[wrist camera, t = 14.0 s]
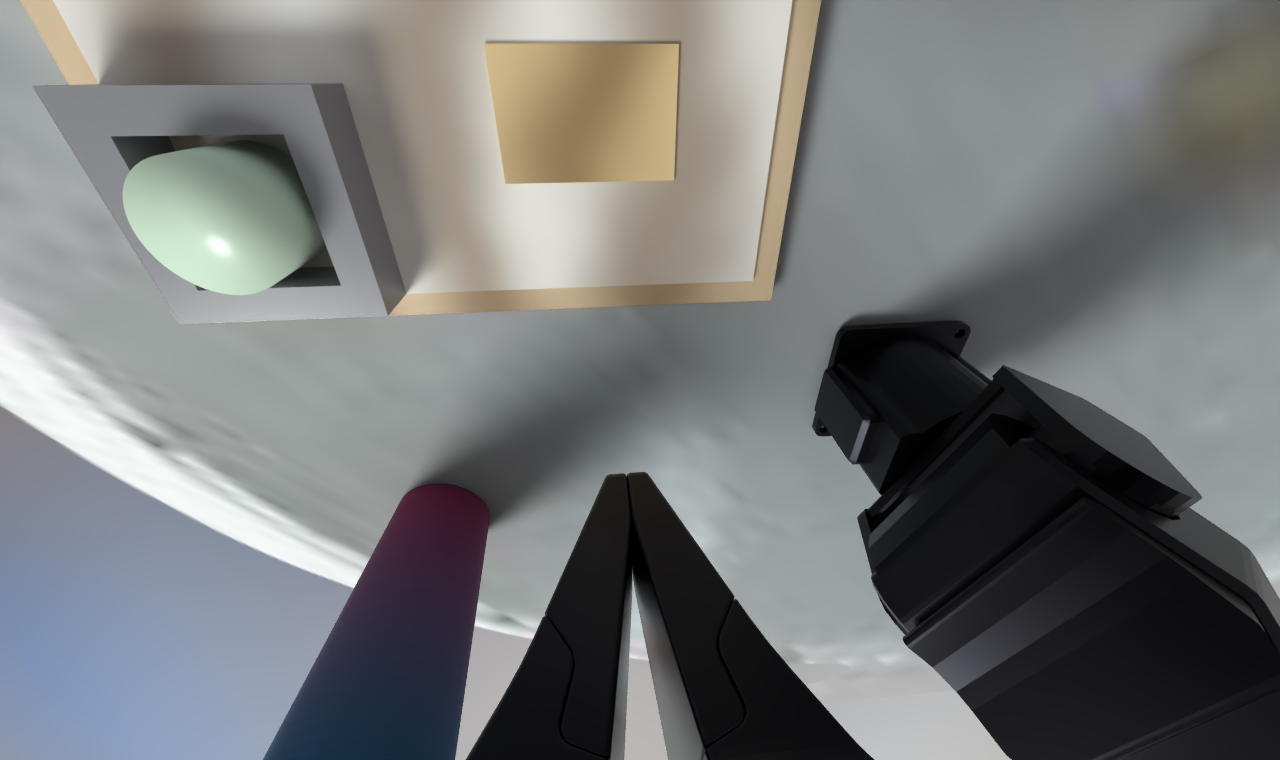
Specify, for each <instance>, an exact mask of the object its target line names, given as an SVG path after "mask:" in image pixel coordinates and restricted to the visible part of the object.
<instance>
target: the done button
mask: <svg viewBox="0 0 1280 760" xmlns="http://www.w3.org/2000/svg"><path fill="white" fill-rule="evenodd" d="M122 196H123V205H124V209H125V213H126V216H127V219H128V221H129V224H130V225H131V227H132V229H133V231H134V233H135V234H136V236H137V237H138V239H139V240H140V242H141V243H142V244H143V245H144V246H145V248H146V249H147V250H148V251H149V252H150V253H151V254H152V255H153V256H154V257H155V258H156V259H157V260H158V261H159V262H160V263H161V264H163V265H164V266H165V267H166V268H168V269H169V270H171V271H172V272H173V273H175V274H176V275H178V276H180V277H181V278H183V279H185V280H187V281H189V282H190V283H192V284H195V285H197V286H199V287H202V288H204V289H207V290H210V291H214V292H218V293H222V294H229V295H250V294H255V293H259V292H261V291H264V290H266V289H268V288H270V287H271V286H273V285H274V284H276V283H277V282H279V281H280V280H282V279H283V278H285V277H286V276H288V275H289V274H291V273H292V272H294V271H295V270H297V269H298V268H300V267H301V266H303V265H304V264H306V263H307V262H308V261H310V260H311V259H313V258H314V257H316V256H317V255H319V254H320V253H321V252H322V251H323V250H324V249H325V248H326V244H325V242H324V239H323V237H322V234H321V231H320V229H319V226H318V223H317V221H316V218H315V216H314V213H313V210H312V208H311V205H310V203H309V200H308V197H307V195H306V192H305V189H304V187H303V184H302V182H301V179H300V176H299V174H298V171H297V168H296V166H295V163H294V161H293V158H292V157H291V156H289V155H288V154H286V153H284V152H283V151H281V150H279V149H277V148H274V147H272V146H270V145H267V144H264V143H260V142H256V141H250V140H234V141H228V142H222V143H217V144H212V145H207V146H202V147H196V148H191V149H186V150H181V151H176V152H170V153H165V154H160V155H156V156H152V157H149V158H147V159H144V160H142V161H141V162H139V163H138V164H136V165H135V166H134V167H133V168H132V169H131V170H130V172H129V173H128V175H127V177H126V179H125V182H124V186H123V195H122Z"/></svg>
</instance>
